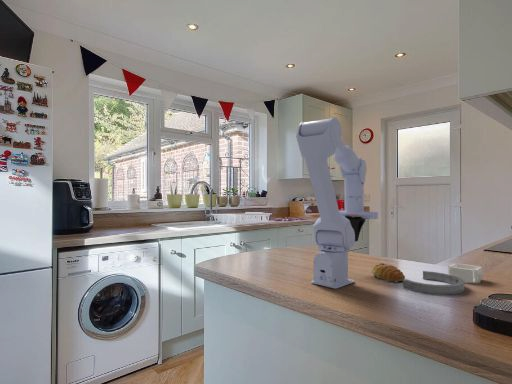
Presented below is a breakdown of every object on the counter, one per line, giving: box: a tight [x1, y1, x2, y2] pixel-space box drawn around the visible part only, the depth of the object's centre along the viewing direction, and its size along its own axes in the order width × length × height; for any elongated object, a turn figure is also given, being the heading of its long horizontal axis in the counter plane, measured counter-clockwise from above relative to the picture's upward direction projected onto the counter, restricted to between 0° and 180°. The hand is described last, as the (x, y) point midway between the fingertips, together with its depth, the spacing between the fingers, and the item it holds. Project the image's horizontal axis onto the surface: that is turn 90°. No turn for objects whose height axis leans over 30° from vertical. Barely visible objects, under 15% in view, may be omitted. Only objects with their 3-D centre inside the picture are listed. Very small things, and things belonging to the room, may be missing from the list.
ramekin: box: [447, 263, 483, 284], centre depth 90 cm, size 7×7×4 cm
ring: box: [402, 270, 465, 296], centre depth 83 cm, size 15×12×2 cm
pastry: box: [371, 262, 406, 283], centre depth 92 cm, size 9×7×4 cm
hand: (354, 241), depth 100 cm, fingers closed
